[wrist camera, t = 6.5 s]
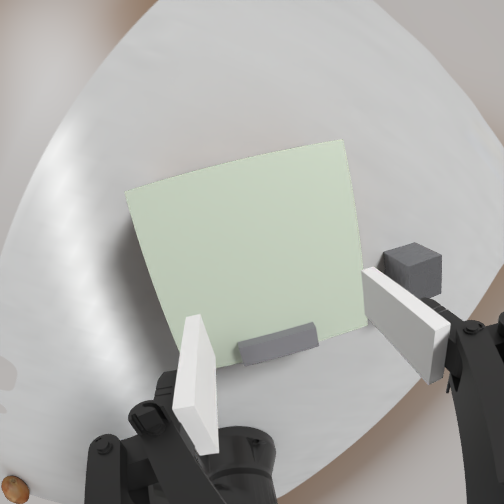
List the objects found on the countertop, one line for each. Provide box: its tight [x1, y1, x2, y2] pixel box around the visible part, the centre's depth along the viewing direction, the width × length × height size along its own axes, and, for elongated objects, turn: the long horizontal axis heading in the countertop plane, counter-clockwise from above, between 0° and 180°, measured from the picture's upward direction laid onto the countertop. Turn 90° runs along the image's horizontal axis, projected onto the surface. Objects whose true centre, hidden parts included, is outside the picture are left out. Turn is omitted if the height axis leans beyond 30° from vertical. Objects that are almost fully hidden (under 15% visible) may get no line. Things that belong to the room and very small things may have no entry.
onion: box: [1, 476, 29, 504], centre depth 48 cm, size 10×10×10 cm
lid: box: [124, 139, 368, 368], centre depth 29 cm, size 20×20×3 cm
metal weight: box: [383, 242, 442, 299], centre depth 41 cm, size 6×6×7 cm
